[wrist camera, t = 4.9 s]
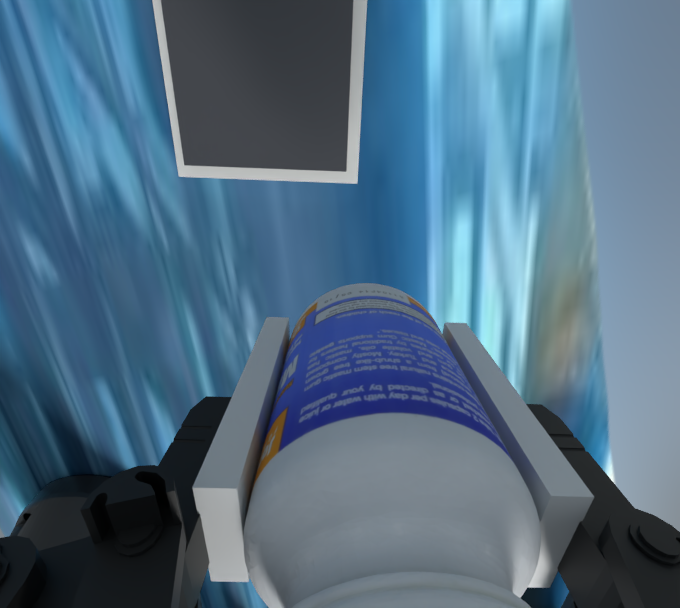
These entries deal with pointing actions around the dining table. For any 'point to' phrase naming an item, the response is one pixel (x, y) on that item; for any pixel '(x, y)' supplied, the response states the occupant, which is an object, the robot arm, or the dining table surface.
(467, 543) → the pill bottle
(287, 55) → the ink pad
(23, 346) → the dining table surface
